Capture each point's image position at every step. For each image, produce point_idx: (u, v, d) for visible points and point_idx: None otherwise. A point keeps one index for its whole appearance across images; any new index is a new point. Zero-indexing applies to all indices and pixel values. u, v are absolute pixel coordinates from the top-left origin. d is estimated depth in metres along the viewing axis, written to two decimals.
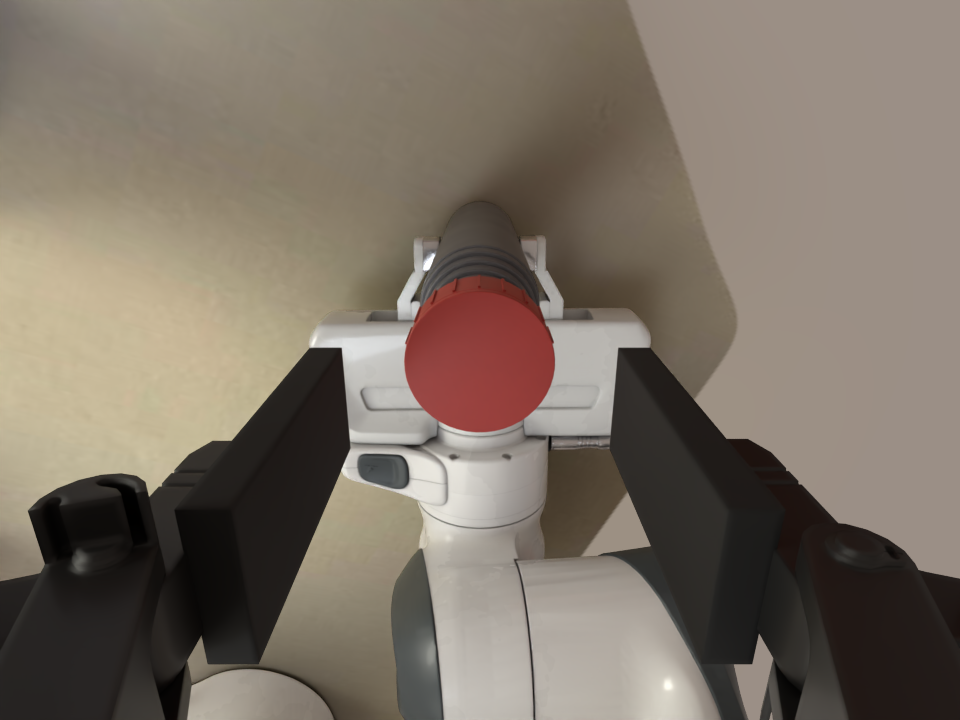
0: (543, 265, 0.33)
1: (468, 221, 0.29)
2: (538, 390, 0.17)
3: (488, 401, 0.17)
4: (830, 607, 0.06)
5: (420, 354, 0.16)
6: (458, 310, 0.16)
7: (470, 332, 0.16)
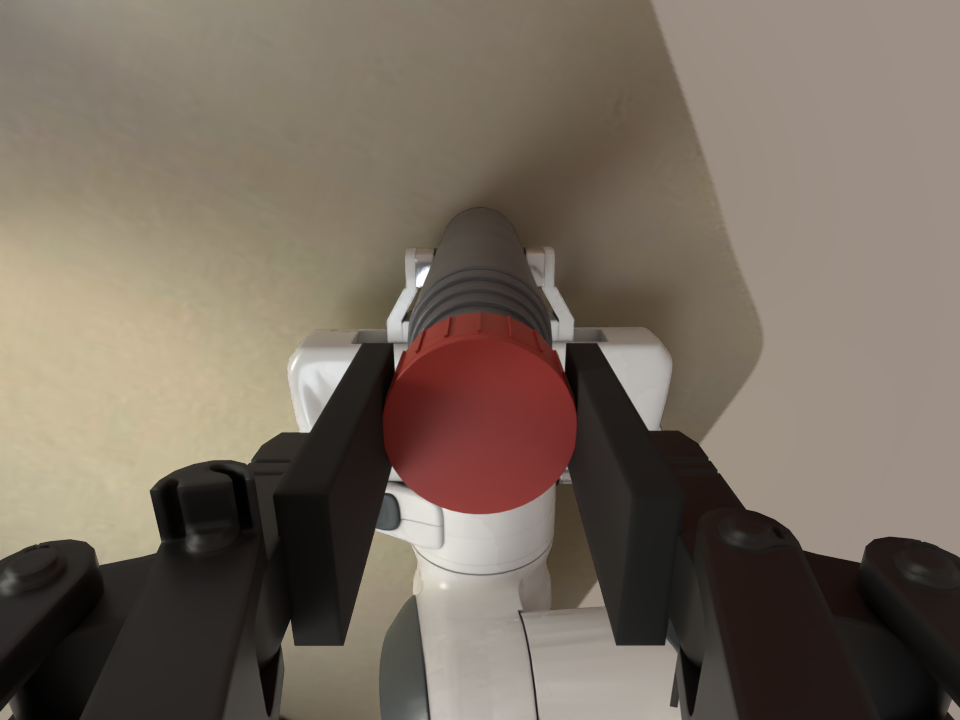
0: (551, 281, 0.29)
1: (466, 233, 0.25)
2: (556, 463, 0.13)
3: (491, 476, 0.13)
4: (721, 591, 0.06)
5: (402, 418, 0.12)
6: (451, 362, 0.12)
7: (467, 390, 0.12)
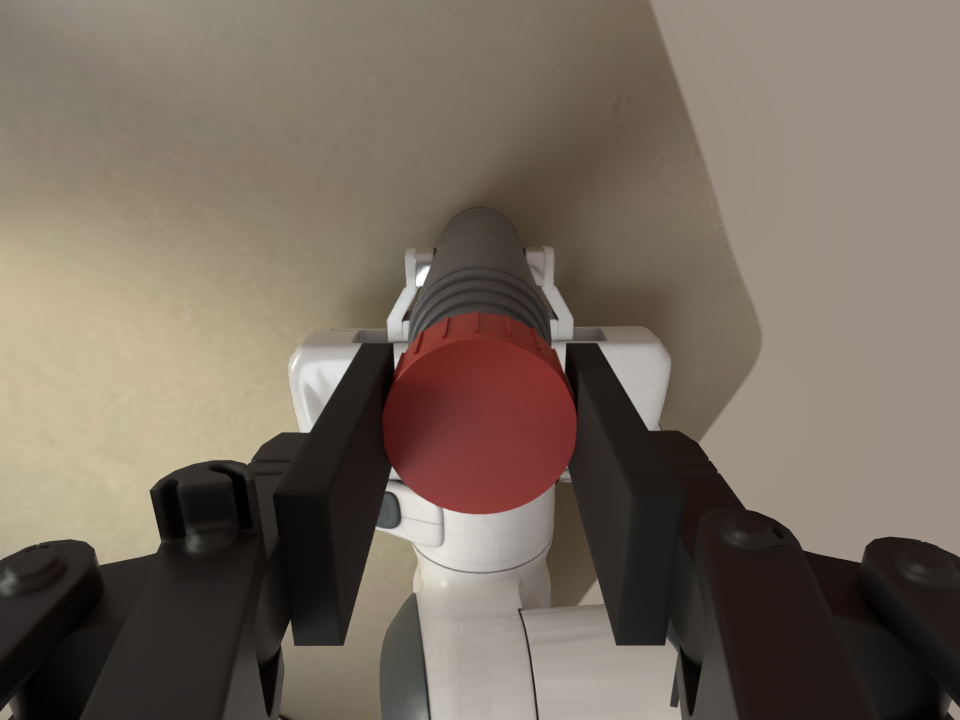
0: (551, 280, 0.29)
1: (466, 232, 0.25)
2: (449, 356, 0.12)
3: (509, 391, 0.12)
4: (722, 590, 0.06)
5: (520, 488, 0.13)
6: (446, 492, 0.13)
7: (455, 466, 0.13)
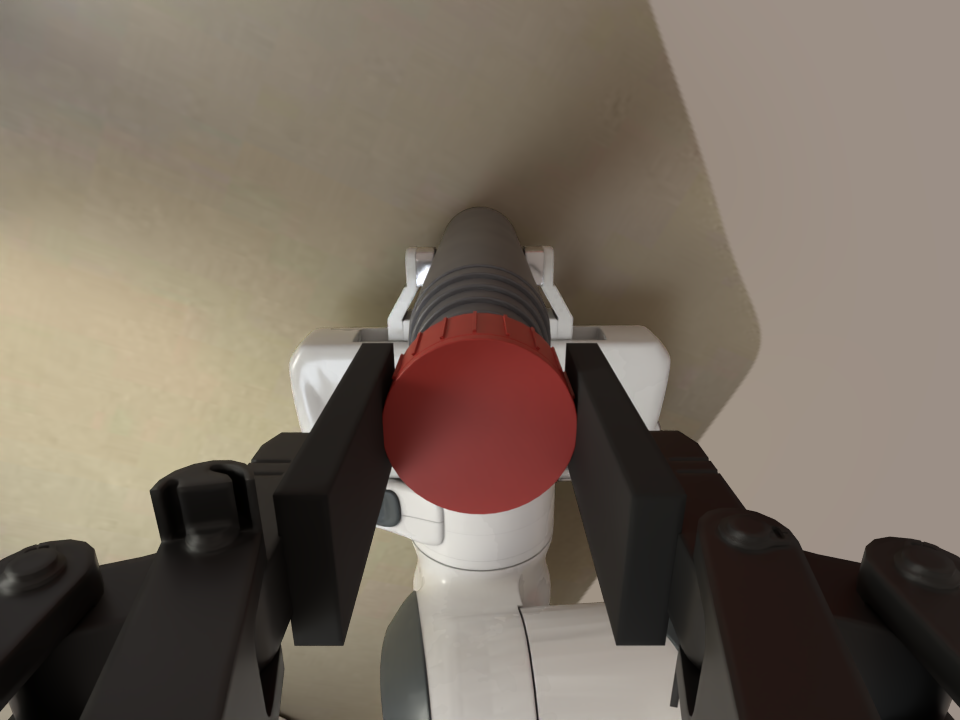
0: (550, 279, 0.29)
1: (466, 231, 0.25)
2: (442, 497, 0.13)
3: (427, 440, 0.13)
4: (721, 591, 0.06)
5: (498, 361, 0.12)
6: (555, 410, 0.12)
7: (525, 423, 0.12)
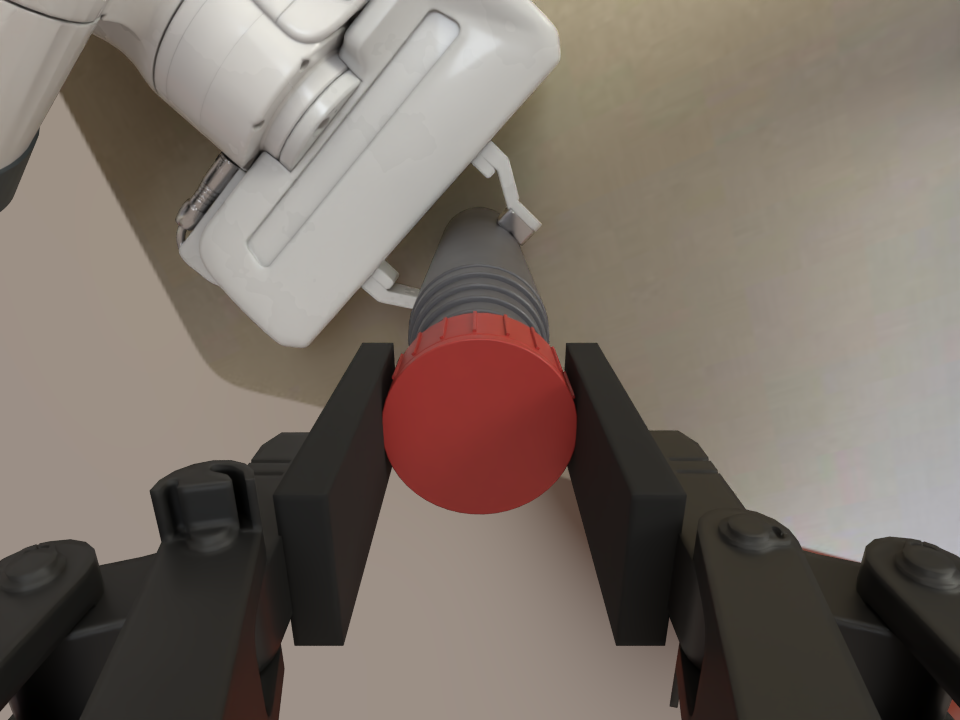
0: None
1: None
2: (442, 497, 0.13)
3: (427, 440, 0.13)
4: (721, 590, 0.06)
5: (498, 361, 0.12)
6: (555, 410, 0.12)
7: (525, 423, 0.12)
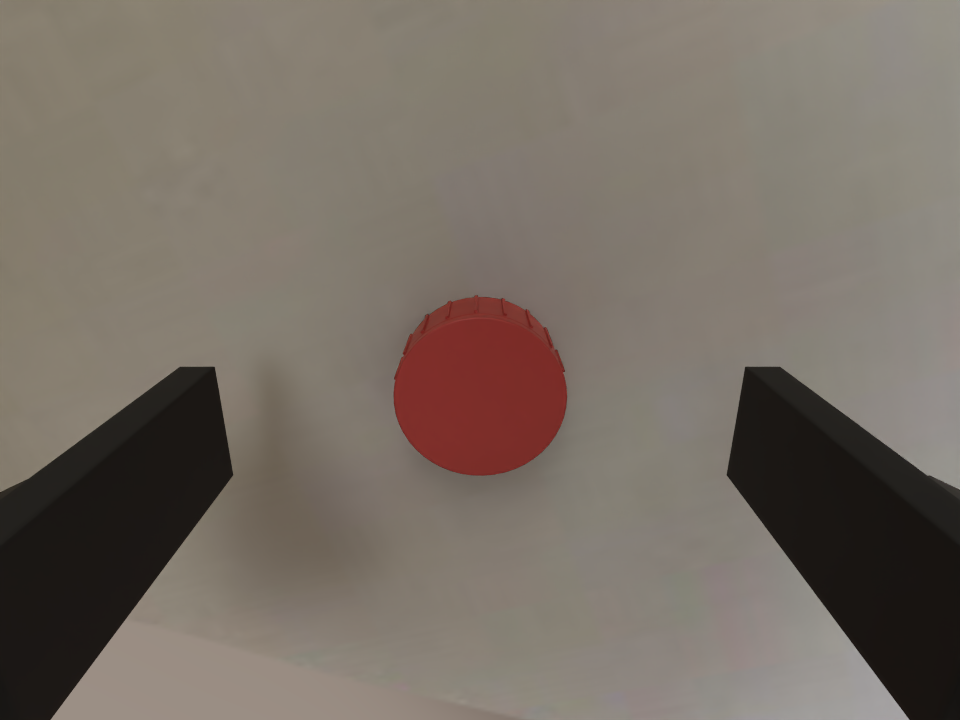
0: None
1: None
2: (447, 460, 0.15)
3: (434, 408, 0.14)
4: None
5: (497, 337, 0.14)
6: (547, 381, 0.14)
7: (520, 392, 0.14)
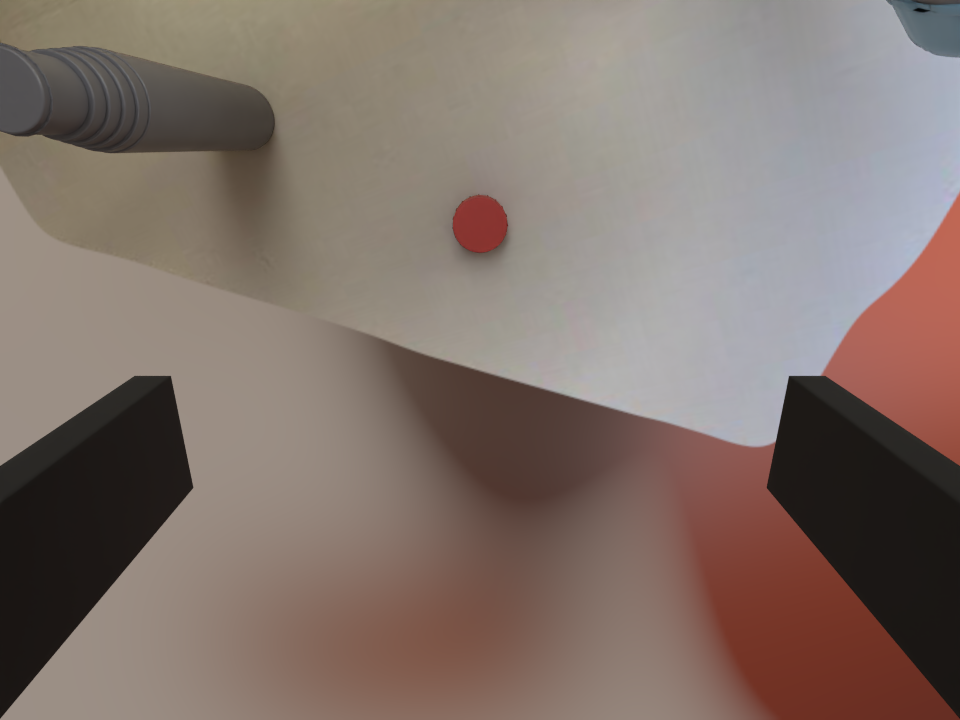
0: None
1: (215, 131, 0.35)
2: (469, 246, 0.46)
3: (465, 228, 0.45)
4: None
5: (485, 203, 0.45)
6: (500, 218, 0.45)
7: (492, 222, 0.45)
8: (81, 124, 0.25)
